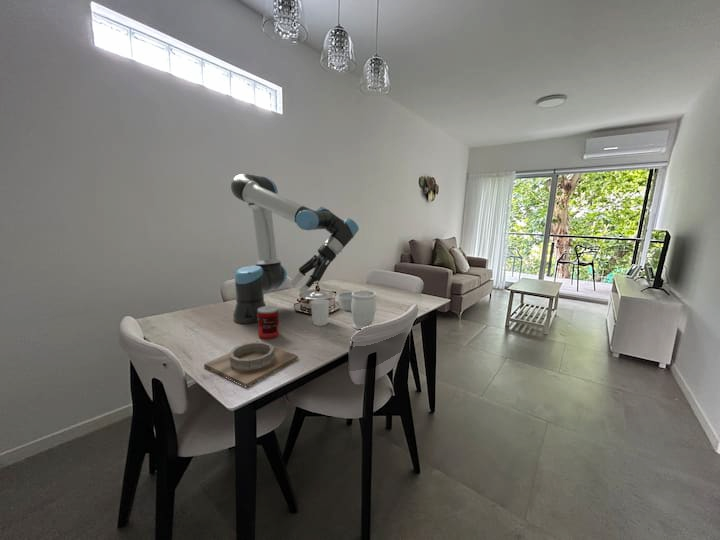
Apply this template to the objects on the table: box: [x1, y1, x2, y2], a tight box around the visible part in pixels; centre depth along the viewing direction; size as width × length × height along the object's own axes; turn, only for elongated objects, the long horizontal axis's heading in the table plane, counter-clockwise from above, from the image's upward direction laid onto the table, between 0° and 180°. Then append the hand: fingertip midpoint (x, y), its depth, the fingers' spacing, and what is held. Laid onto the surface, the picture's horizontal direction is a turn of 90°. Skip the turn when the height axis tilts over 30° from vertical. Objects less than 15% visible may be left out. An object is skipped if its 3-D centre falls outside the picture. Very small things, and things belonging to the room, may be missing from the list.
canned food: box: [257, 305, 280, 340], centre depth 114 cm, size 8×8×11 cm
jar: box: [350, 290, 377, 331], centre depth 125 cm, size 11×10×15 cm
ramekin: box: [337, 291, 353, 312], centre depth 151 cm, size 13×13×7 cm
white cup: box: [310, 298, 330, 327], centre depth 128 cm, size 8×8×10 cm
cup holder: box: [203, 341, 299, 388], centre depth 93 cm, size 20×20×4 cm
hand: (295, 288), depth 117 cm, fingers open, 13 cm apart
